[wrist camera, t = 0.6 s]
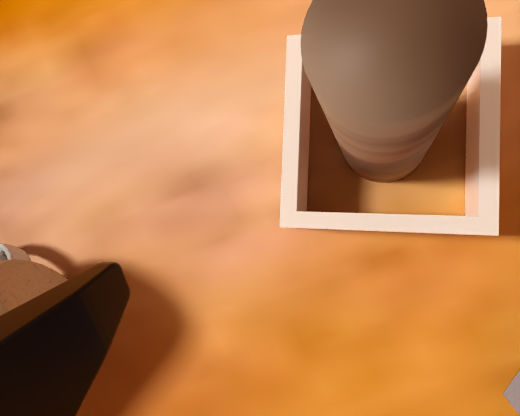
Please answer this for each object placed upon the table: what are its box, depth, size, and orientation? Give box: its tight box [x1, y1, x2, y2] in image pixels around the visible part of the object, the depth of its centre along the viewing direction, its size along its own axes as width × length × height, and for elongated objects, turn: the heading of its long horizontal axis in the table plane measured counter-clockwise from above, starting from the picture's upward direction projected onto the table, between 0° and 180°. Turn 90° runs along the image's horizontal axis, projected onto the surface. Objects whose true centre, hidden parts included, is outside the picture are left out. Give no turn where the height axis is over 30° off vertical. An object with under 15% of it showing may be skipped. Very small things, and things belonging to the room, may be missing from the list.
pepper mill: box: [301, 0, 488, 182], centre depth 16 cm, size 4×4×12 cm
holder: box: [280, 17, 501, 236], centre depth 21 cm, size 10×10×3 cm
